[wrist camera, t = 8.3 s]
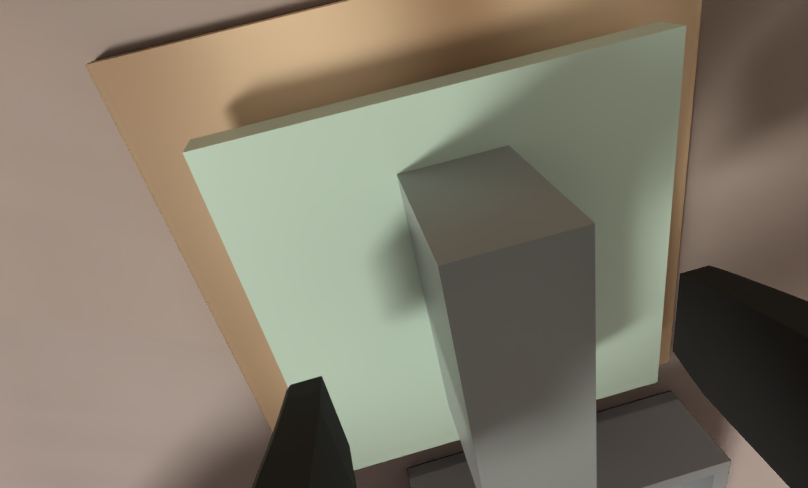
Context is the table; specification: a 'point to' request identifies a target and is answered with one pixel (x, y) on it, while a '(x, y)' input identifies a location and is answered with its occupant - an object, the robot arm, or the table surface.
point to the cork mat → (330, 83)
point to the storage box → (625, 451)
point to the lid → (466, 250)
